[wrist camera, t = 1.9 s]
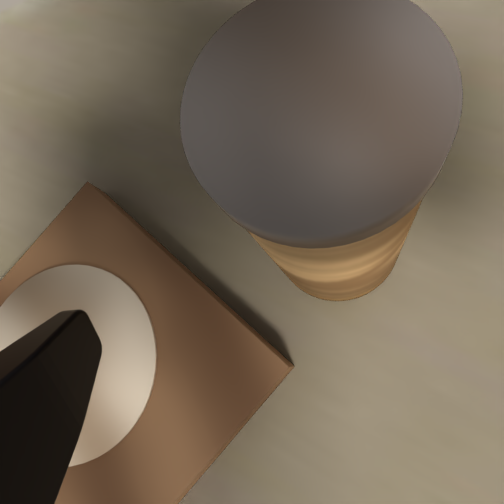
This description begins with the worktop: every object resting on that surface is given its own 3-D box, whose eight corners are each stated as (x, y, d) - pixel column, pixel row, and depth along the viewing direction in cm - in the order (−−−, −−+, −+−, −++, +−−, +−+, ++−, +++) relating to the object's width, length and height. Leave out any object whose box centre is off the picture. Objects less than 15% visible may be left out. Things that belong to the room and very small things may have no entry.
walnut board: (28, 679, 18) (-4, 711, 16) (-120, 450, 22) (-158, 457, 20) (294, 366, 18) (288, 367, 17) (104, 192, 22) (84, 179, 20)
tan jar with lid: (345, 330, 18) (330, 296, 8) (249, 249, 20) (129, 131, 9) (429, 230, 18) (528, 63, 8) (328, 158, 20) (297, -61, 9)
